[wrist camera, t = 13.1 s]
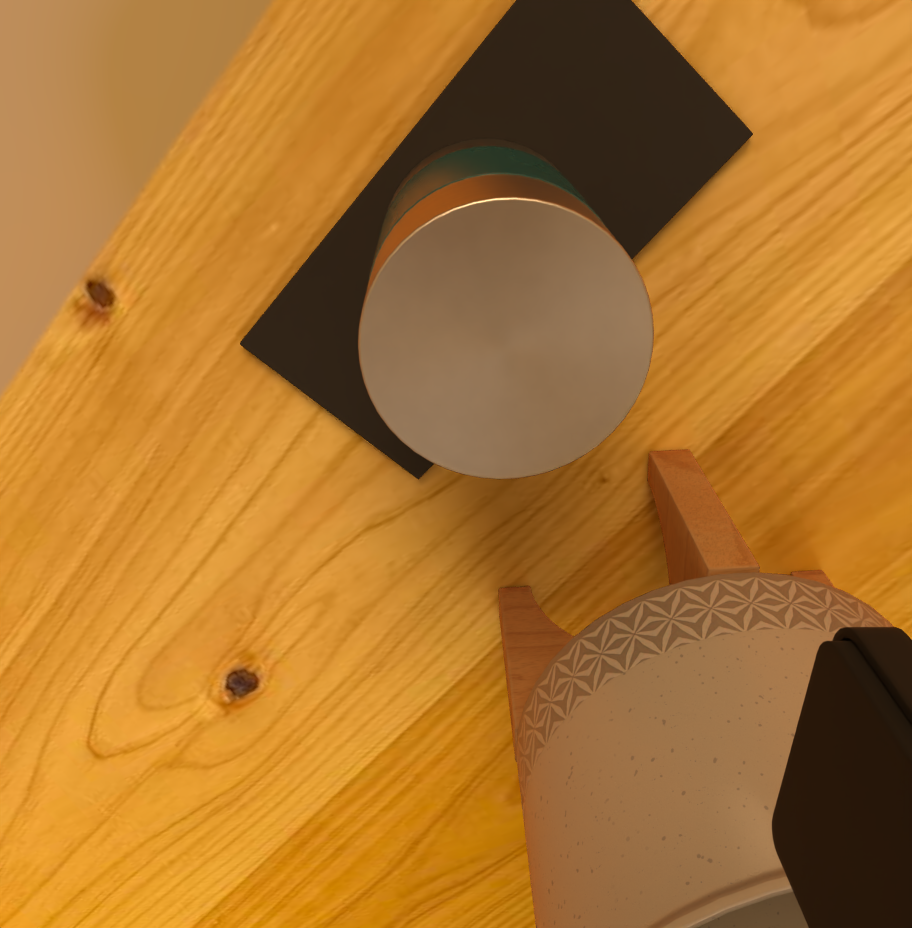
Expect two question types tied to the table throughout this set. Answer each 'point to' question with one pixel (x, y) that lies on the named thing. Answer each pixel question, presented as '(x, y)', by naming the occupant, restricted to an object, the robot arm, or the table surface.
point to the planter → (668, 728)
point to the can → (501, 315)
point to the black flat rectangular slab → (533, 126)
